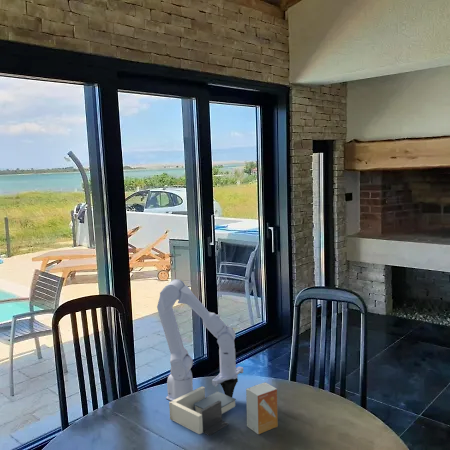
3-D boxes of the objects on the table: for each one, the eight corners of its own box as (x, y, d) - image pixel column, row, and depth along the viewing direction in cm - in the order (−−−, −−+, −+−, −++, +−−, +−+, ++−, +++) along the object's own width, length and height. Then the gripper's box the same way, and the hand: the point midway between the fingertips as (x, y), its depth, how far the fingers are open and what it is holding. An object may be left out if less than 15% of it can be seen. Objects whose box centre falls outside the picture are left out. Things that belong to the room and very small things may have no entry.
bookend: (200, 431, 149) (199, 410, 148) (219, 420, 155) (218, 400, 155) (209, 435, 146) (208, 414, 146) (228, 424, 153) (227, 404, 152)
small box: (258, 435, 146) (257, 395, 144) (246, 426, 151) (245, 388, 150) (278, 426, 150) (277, 388, 149) (266, 418, 155) (265, 381, 154)
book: (193, 412, 162) (193, 403, 162) (217, 399, 171) (217, 391, 170) (212, 420, 156) (211, 412, 156) (236, 406, 165) (235, 398, 164)
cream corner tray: (170, 419, 157) (169, 402, 157) (202, 402, 168) (201, 386, 168) (199, 434, 147) (198, 416, 147) (232, 415, 158) (231, 398, 158)
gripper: (221, 371, 159) (223, 409, 160) (249, 358, 169) (250, 393, 171) (207, 366, 163) (208, 402, 165) (234, 353, 174) (236, 388, 175)
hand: (228, 397), depth 168 cm, fingers closed
